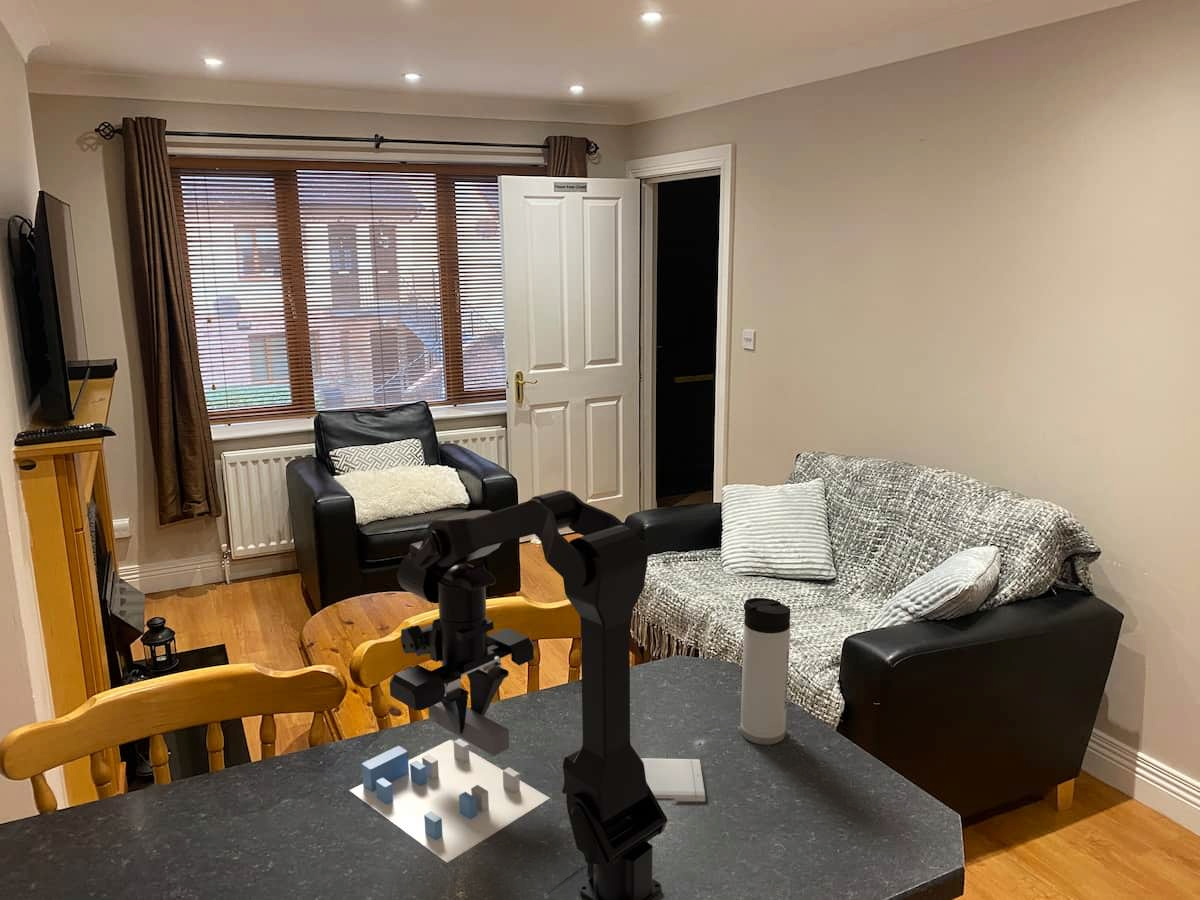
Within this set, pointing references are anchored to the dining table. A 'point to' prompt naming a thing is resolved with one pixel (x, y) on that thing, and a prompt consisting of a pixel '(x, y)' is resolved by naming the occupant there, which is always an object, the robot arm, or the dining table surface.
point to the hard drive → (675, 778)
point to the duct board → (445, 796)
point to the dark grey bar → (475, 729)
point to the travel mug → (765, 670)
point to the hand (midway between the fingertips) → (467, 728)
